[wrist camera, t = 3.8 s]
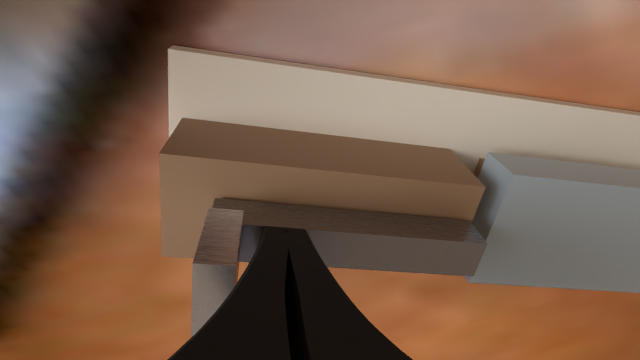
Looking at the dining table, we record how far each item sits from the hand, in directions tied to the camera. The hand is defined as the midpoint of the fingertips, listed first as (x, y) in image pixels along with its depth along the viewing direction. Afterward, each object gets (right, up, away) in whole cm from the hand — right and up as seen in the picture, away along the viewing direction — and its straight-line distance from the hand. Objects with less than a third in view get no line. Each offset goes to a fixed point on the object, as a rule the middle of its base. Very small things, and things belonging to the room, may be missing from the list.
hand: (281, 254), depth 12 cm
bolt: (+2, +1, +2) cm, 3 cm away
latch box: (+7, +2, +7) cm, 10 cm away
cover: (+12, +1, +6) cm, 13 cm away
